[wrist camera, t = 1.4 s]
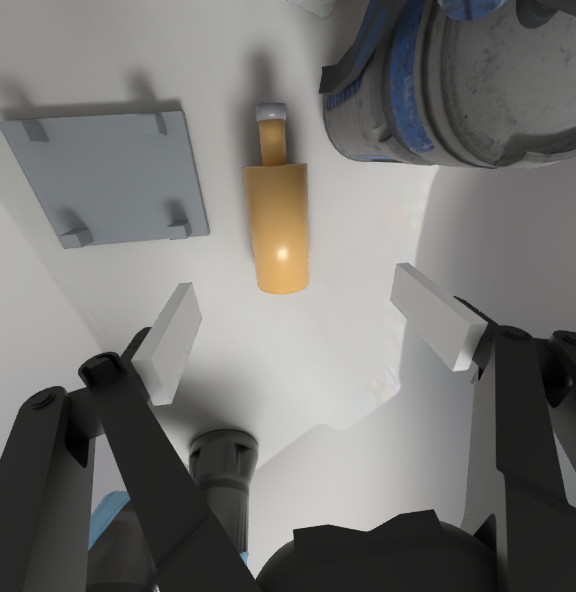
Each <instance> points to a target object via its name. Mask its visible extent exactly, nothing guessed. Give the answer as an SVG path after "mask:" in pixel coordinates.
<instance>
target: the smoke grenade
mask: <svg viewBox="0 0 576 592" xmlns="http://www.w3.org/2000/svg"><path fill="white" fill-rule="evenodd" d="M319 94H325V98H324V106H323V115H324V124H325V129H326V132H327V135H328V137H329V140H330V141H331V143H332V145H333V146H334V148H335V149H336V150H337V151H338V152H339V153H340V154H342V155H343V156H345V157H346V158H348V159H351V160H354V161H361V162H394V163H405V164H414V165H429V166H430V165H442V166H451V167H469V168H487V169H495V168H516V169H517V168H518V169H526V168H534V167H542V166H546V165H550V164H553V163H557V162H560V161H563V160H567V159H569V158H572V157H575V156H576V0H370V2H369V5H368V8H367V11H366V14H365V16H364V19H363V22H362V25H361V27H360V30H359V33H358V36H357V39H356V41H355V42H354V44H353V45H352V46H351V47H350V49H349V50H348V51H347V53H346V54H345V55H344V56H343V58H342V59H341V60H340V62H339V63H338V64H337V65H332V66H325V67H322V78H321V83H320V88H319Z"/></svg>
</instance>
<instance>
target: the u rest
mask: <svg viewBox="0 0 576 592" xmlns="http://www.w3.org/2000/svg"><path fill="white" fill-rule="evenodd" d="M0 128H1V130H2V132H3V134H4V136H5V138H6V140H7V142H8V144H9V145H10V147H11V149H12V151H13V153H14V155H15V157H16V159H17V161H18V163H19V164H20V166H21V168H22V170H23V172H24V174H25V176H26V178H27V180H28V182H29V183H30V185H31V187H32V189H33V191H34V193H35V195H36V197H37V199H38V201H39V202H40V204H41V206H42V208H43V210H44V212H45V214H46V216H47V218H48V220H49V221H50V223H51V225H52V227H53V229H54V231H55V233H56V235H57V237H58V239H59V240H60V242H61V244H62V246H63V247H64V249H67V248H79V247H84V246H87V245H99V244H111V243H123V242H135V241H147V240H159V239H170V240H175V239H187V238H188V237H195V236H207V235H209V234H210V231H209V226H208V221H207V217H206V212H205V207H204V203H203V198H202V193H201V189H200V184H199V179H198V175H197V170H196V165H195V161H194V156H193V151H192V147H191V142H190V137H189V133H188V128H187V124H186V119H185V114H184V112H182V111H172V112H154V113H135V114H117V115H99V116H81V117H63V118H44V119H26V120H8V121H0Z"/></svg>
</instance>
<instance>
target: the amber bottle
mask: <svg viewBox="0 0 576 592" xmlns="http://www.w3.org/2000/svg"><path fill="white" fill-rule="evenodd" d="M255 113H256V122H258V123H259V133H260V144H261V154H262V165H263V166H253V167H244V168H242V171H243V178H244V186H245V193H246V201H247V208H248V216H249V223H250V231H251V238H252V246H253V254H254V261H255V269H256V276H257V284H258V287H259V289H261V290H262V291H264V292H267V293H270V294H290V293H295V292H298V291H300V290H302V289H304V288H305V287H307V285H308V284H309V244H308V185H307V164H306V163H298V164H287V161H286V142H285V123H284V121H285V120H286V105H285V104H284V103H265V104H259V105H256V106H255Z"/></svg>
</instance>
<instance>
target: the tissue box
mask: <svg viewBox="0 0 576 592" xmlns="http://www.w3.org/2000/svg"><path fill="white" fill-rule="evenodd" d="M288 1H290V2H292V3H294V4H296V5H298V6H300V7H302V8H304V9H306V10H308V11H310V12H312V13H314V14H316V15H318V16H320V17H322V18H326V17H328V16H329V15H330V13H331V11H332V9H333V7H334V5H335V3H336V1H337V0H288Z"/></svg>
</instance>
